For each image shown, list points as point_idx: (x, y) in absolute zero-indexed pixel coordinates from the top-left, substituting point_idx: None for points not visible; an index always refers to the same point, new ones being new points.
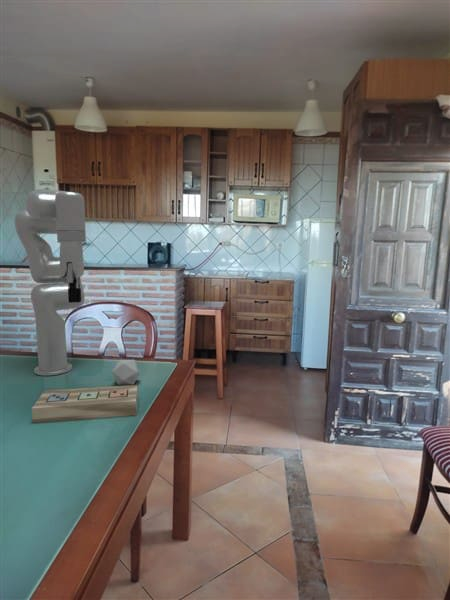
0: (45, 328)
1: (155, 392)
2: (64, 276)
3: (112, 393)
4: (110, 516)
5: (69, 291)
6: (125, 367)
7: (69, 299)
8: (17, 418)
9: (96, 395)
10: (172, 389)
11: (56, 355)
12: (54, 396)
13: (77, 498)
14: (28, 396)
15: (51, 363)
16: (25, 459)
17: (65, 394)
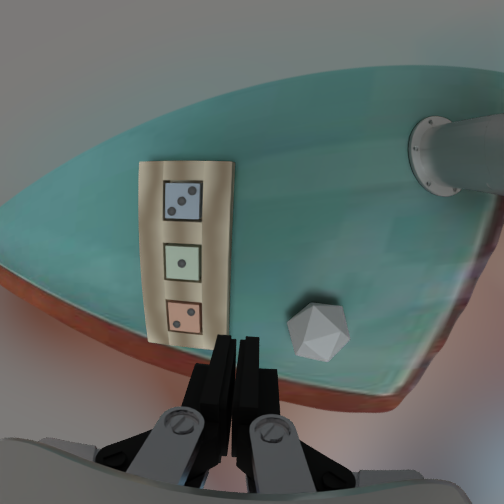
0: (490, 139)
1: None
2: (203, 501)
3: (185, 307)
4: (4, 286)
5: (204, 393)
6: (299, 340)
7: (214, 349)
8: (176, 128)
9: (178, 278)
10: None
11: (443, 165)
12: (187, 192)
13: (13, 260)
14: (289, 119)
15: (430, 153)
16: (58, 190)
17: (195, 214)
